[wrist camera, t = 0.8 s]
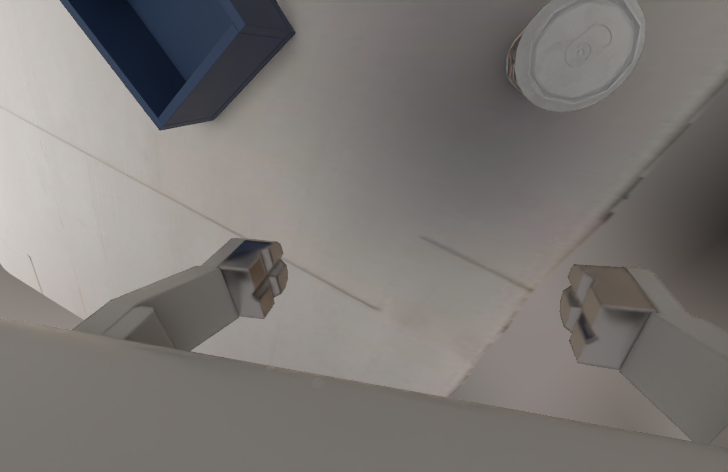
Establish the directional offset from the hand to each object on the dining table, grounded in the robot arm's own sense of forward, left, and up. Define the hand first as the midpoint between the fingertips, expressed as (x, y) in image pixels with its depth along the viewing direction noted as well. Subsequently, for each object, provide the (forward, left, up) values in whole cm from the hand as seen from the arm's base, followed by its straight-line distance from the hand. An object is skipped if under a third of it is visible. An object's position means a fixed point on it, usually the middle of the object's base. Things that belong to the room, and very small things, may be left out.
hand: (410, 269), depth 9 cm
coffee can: (-7, -2, -22) cm, 23 cm away
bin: (+15, -22, -21) cm, 34 cm away
